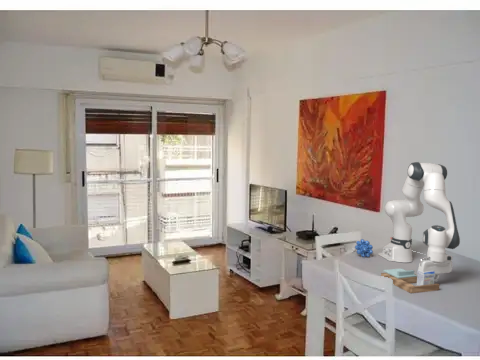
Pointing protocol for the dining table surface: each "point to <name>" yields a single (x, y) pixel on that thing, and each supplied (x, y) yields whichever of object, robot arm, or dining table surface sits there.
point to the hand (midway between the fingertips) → (434, 281)
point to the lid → (400, 273)
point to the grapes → (363, 248)
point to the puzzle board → (407, 286)
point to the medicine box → (425, 278)
